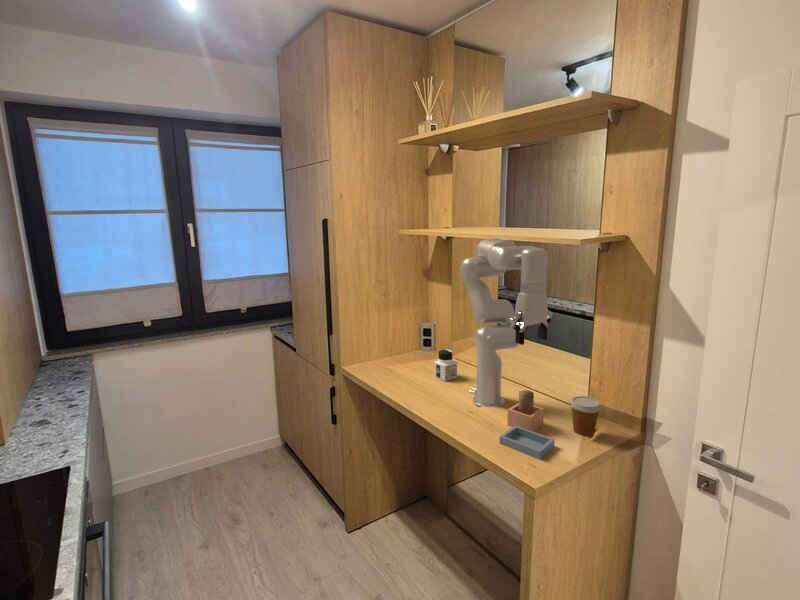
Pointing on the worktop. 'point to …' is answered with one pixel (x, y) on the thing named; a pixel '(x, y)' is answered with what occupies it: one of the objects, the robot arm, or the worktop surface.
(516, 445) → the tray
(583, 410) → the disposable coffee cup
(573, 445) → the worktop surface
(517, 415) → the terracotta open box
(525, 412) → the peg
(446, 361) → the container
